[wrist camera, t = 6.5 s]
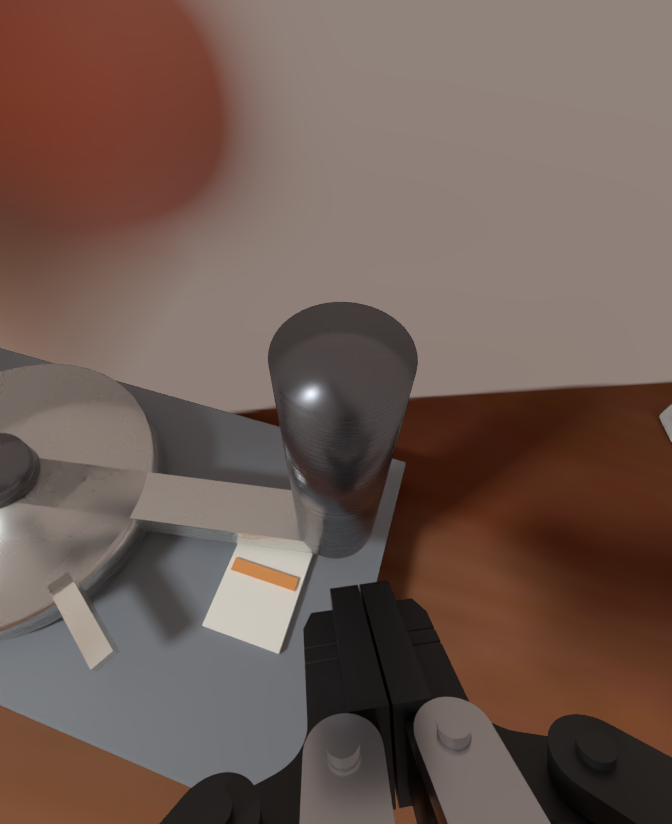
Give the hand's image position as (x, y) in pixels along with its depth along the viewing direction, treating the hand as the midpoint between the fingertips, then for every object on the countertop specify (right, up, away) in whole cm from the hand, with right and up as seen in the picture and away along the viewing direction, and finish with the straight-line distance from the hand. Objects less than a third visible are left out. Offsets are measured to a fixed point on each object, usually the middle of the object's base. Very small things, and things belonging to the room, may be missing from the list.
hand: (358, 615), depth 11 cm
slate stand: (-11, -1, +10) cm, 15 cm away
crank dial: (-11, +1, +8) cm, 14 cm away
